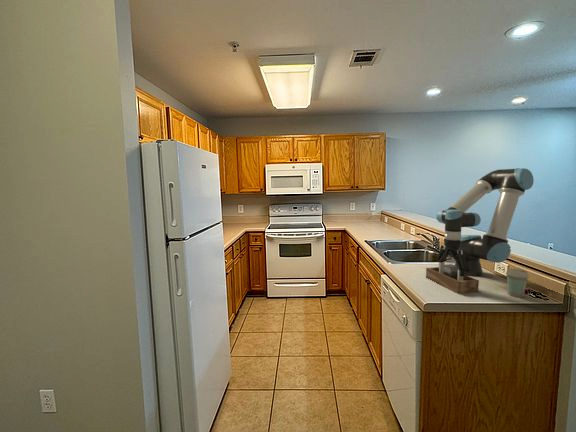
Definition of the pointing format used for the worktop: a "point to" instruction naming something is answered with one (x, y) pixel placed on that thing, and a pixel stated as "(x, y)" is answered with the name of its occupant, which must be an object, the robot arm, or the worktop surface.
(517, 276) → the coffee cup
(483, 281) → the worktop surface
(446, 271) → the dark grey block
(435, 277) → the wooden box
